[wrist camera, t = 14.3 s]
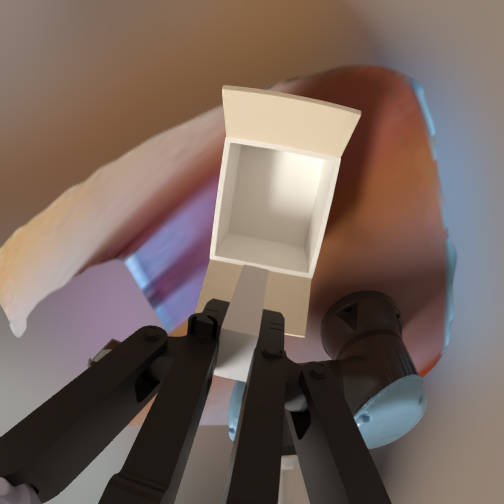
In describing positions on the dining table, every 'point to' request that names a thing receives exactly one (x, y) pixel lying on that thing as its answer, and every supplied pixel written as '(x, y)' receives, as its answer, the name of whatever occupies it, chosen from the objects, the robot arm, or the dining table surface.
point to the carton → (272, 206)
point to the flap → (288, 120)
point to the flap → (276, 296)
